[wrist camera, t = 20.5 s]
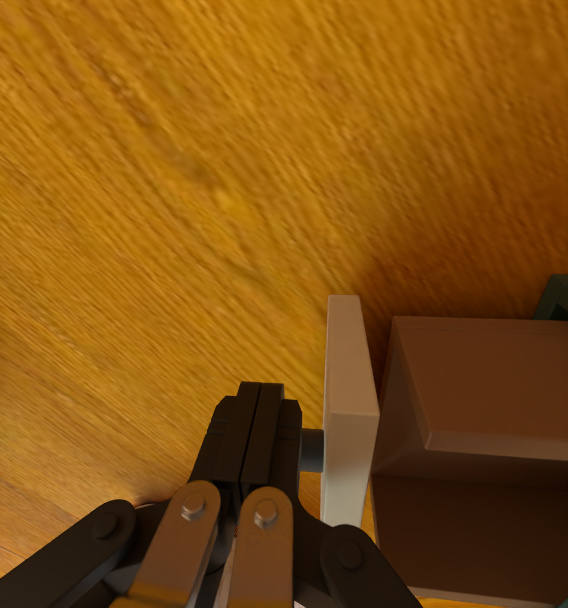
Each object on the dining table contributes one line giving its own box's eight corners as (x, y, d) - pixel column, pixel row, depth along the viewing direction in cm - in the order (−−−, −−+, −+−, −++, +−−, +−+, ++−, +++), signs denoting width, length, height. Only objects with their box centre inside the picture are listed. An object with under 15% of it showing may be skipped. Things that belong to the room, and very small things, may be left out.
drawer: (300, 465, 19) (291, 593, 14) (297, 292, 13) (279, 408, 8) (558, 487, 17) (651, 639, 12) (690, 302, 11) (971, 453, 6)
